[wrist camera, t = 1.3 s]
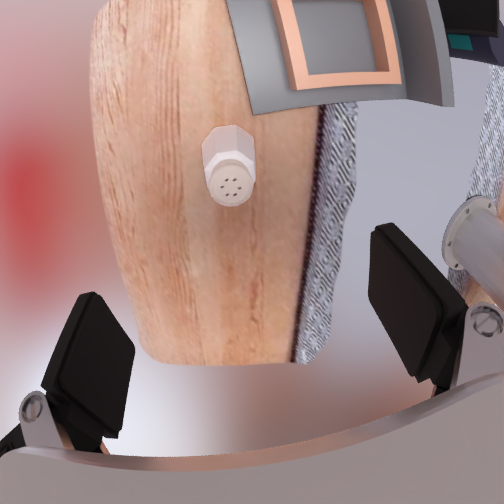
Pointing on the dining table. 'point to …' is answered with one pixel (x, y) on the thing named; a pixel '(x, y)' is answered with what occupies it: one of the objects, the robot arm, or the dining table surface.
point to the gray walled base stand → (341, 52)
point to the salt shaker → (229, 164)
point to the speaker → (474, 30)
